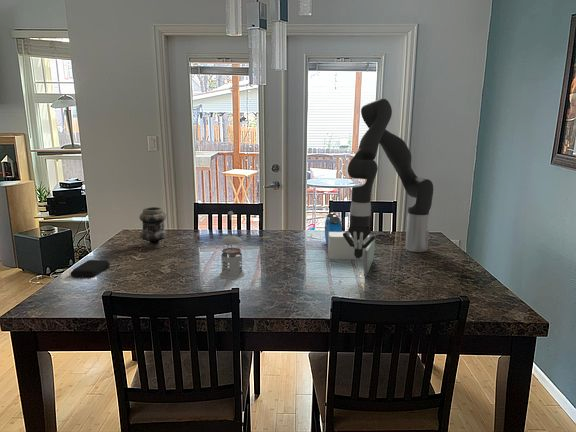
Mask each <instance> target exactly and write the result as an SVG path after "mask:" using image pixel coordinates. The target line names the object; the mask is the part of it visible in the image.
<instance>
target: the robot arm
mask: <svg viewBox="0 0 576 432" xmlns="http://www.w3.org/2000/svg"><path fill="white" fill-rule="evenodd" d="M360 114H361V118H362V120H363V122H364V123H365V125H366V126H367V128H368V129H367V130H366V132H364V134H363V136H362V137H361V140H360V142H359V145H358V147H357V148H358V149H357V151H356V153H355V154H354V156H353V157H352V158H351V159H350V162H349V164H348V166H347V173H348V176H349V177H350V178H351V179H356V180H366V181H365V183H363V184H357V185H353V186H352V188H351V201H350V202H351V203H350V208H349V211H350V212H349V227H348V229H347V231H343V232H344V233H343V236H344V238H345V239H346V241H347V242H348V244H349V245H350V246H351V247H354V248H355V253H354V255H355V256H356V258H360V257H362V254H363V248H367V246H368V245H369V244H370V243H371V242H372V241H373V240H374V239H375V240H376V238H377V235H376V234H374V233H373V232H372V229H371V218H372V217H371V214H372V205H371V203H372V202H371V201H372V189H373V185H374V182H375V179H376V176H377V173H378V169H379V168H378V167H379V166H378V164H377V162H376V161H375V159H376V157H377V154H378V149H379V144H380V146H381V148H382V150H383V151H384V153H385V156H386V157H387V158H388V161H389V162H390V164H391V165H392V166H393V169H394V170H395V172H396V173H397V175H398V177H399V179H400V182H401V183H402V186H403V188H404V190H405V192H406V194H407V196H409V197H411V198H413V199H414V198H415V203H414V204H412V205H409V206H408V208H407V219H406V232H405V233H406V235H405V247H404V248H405V250H406V251H409V252H412V253H423V252H428V246H429V235H430V233H429V232H430V231H429V230H428V228H429V218H430V209H431V207H432V204H433V196H434V184H433V182H432V180H430V179H429V178H424V177H418V175H416V174H415V172H414V170H413V168H412V157H413V156H412V153H411V151H410V148H409V147H408V145H407V144H406V142H405V140H404V139H403V138H401V137H400V136H398V135H396V134H394V133H393V132H390V131H389V130H387V126H388V125H389V122H390V121H391V119H392V115H393V110H392V105H391V103H390V101H389V100H388V99H386V98H380V99H377V100H376V99H375V101H371V102H369V103H366V104H365V105H362V107H361V109H360ZM349 233H350V234H351V236H352V238H353V239H354V242H353V240H352V239H351V237H350V234H349ZM368 235H369V240H368V241H367V243H366V244H364V240H365V239H366V238H367V236H368Z"/></svg>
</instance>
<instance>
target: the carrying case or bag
mask: <svg viewBox="0 0 576 432" xmlns="http://www.w3.org/2000/svg"><path fill="white" fill-rule="evenodd" d="M110 267H111V263H110V262H109V261H108V260H106V259H105V260H104V259H99V260H98V259H89V260H87V261H85V262H83V263H82V264H80V265H79V266H77V267H76V268H74V269H72V270H71V272H70V276H71V277H72V278H83V279H84V278H86V279H87V278H88V279H90V278H94V277H97V275H99V274H100V273H102V272H103V271H104V270H106V269H107V268H108V269H109V268H110Z"/></svg>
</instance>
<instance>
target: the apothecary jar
mask: <svg viewBox="0 0 576 432" xmlns="http://www.w3.org/2000/svg"><path fill="white" fill-rule="evenodd" d="M165 219H167V215H166V213H165V212H164V210H163V208H162V207H158V206H149V207H144V208H142V213H141V214H140V215H139V220H140V221H141V222H142V231H141V232H140V234H139V235H140V237H139V238H141V240H144V241H147V243H145V244H143V248H145V249H151V250H153V249H154V250H155V249H160V248H163V247H165V246H166V243H165V242H164V241H163V242H162V240H165V238H166V237H167V235H168V232H167V230H166V229H165Z"/></svg>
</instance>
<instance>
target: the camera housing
mask: <svg viewBox="0 0 576 432" xmlns="http://www.w3.org/2000/svg"><path fill="white" fill-rule="evenodd" d="M344 232H345V231H342V232H329V236H328V245H327V256H328V259H329V260H358V261H359V260H360V261H361V260H364V257H365V250H366V248H363V254H362V257H360V258H356V256H355V255H354V253H355V248H354V247H351V246H350V245H349V244H348V242H347V241H346V239H345V238H344V236H343V233H344ZM349 234H350V233H349ZM350 237H351V239H352V240H353V242H354V239H353V238H352V236H351V234H350ZM368 240H369V235H368V236H367V238H366V239H365V240H364V244H366V243H367V241H368Z"/></svg>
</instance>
